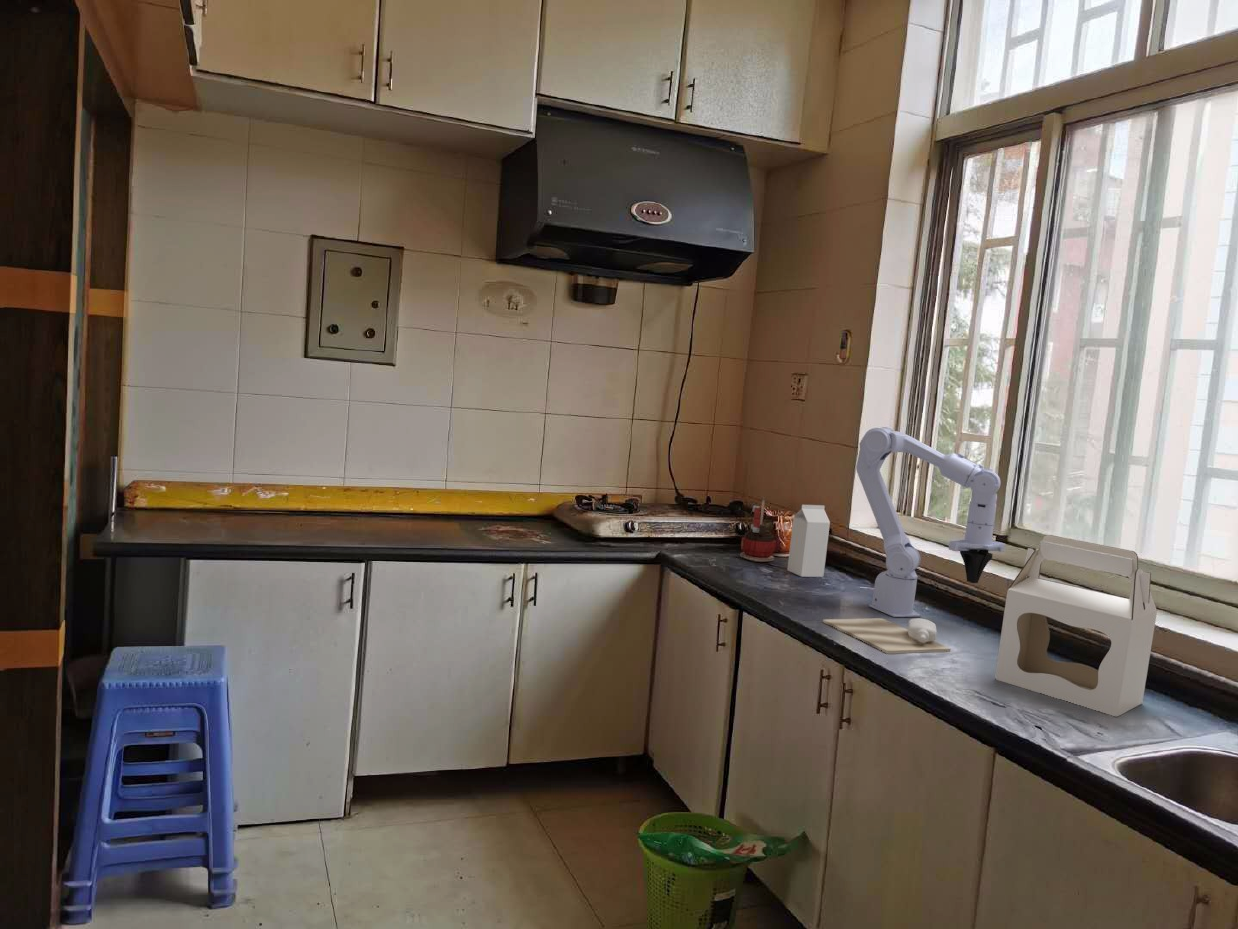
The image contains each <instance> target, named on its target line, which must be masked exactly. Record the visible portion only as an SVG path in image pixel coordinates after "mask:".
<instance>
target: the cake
mask: <svg viewBox="0 0 1238 929" xmlns="http://www.w3.org/2000/svg"><path fill="white" fill-rule="evenodd" d="M765 502H766V497H762V499H761V508H760V506H758V505H753V506H752V512H753V520H752V523H751V524H750V529H749V530H747V532H745V533H744V535H743V536H742V537H741V541H740V548H741V550H742V552H740V554H739V555H740V557H741V558H743V559H746V560H748V561H751V562H757V563H765V562H766V563H767V562H772V561H774V560H775V557H774V556H773V552H775V551H776V546H777V541H776V540H775V536H774V534H772V532H771V531H770V530H769V529H766V525H765V524H763V519H764V511H765V505H766V504H765Z"/></svg>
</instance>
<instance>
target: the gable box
mask: <svg viewBox="0 0 1238 929" xmlns="http://www.w3.org/2000/svg"><path fill="white" fill-rule="evenodd" d="M1039 544H1040V547H1037V548H1036V549H1034V548H1032V547H1027V552H1026V556H1025V560H1024V565H1023V567H1022V568H1021V569H1020V571H1019V572H1018V574H1017V575H1016V577H1015V578H1014V580H1013V581H1012V582H1011V584H1010V585H1009V587H1008V588H1007V589H1006V590H1007V591H1006V596H1005V597H1006V598H1005V605H1004V612H1003V619H1002V624H1001V625H1002V626H1001V633H1000V637H999V638H1000V640H999V647H998V654H997V660H996V665H995V666H996V667H995V674H994V678H995V680H996V681H999V682H1002V683H1005V684H1008V685H1011V686H1014V687H1019V688H1021V689H1024V690H1028V691H1031V692H1034V693H1038V694H1040V693H1042V694H1041V695H1043V694H1045V696H1046V695H1048V696H1047V697H1050V696H1051V697H1050V698H1053V697H1054V698H1053V699H1056V698H1057V700H1059V699H1062V700H1061V701H1063V700H1065V701H1064V702H1066V701H1068V702H1067V703H1069V702H1071V703H1070V704H1072V703H1074V704H1073V705H1075V704H1077V705H1076V706H1079V705H1081V706H1080V707H1082V706H1084V707H1083V708H1085V707H1087V708H1086V709H1088V708H1090V709H1089V710H1091V709H1093V710H1092V711H1095V710H1096V712H1098V711H1100V712H1099V713H1101V712H1103V713H1102V714H1104V713H1106V714H1105V715H1108V714H1109V715H1108V716H1111V715H1112V717H1114V716H1115V717H1114V718H1118V717H1120V716H1121V715H1123V714H1125V713H1126V712H1128V711H1130V710H1132V709H1134V708H1136V707H1138V706H1139V705H1142V704H1143V702H1144V701H1143V700H1144V696H1145V695H1144V694H1145V688H1146V682H1147V676H1148V670H1149V663H1150V658H1151V650H1152V645H1153V639H1154V633H1155V626H1156V621H1157V620H1156V619H1157V615H1158V610H1157V607H1156V604H1155V601H1154V598H1153V596H1152V592H1151V579H1152V578H1151V577H1152V573H1151V572H1147V571H1143V569H1142V568H1139V555H1138V554H1137V552H1135V551H1133V550H1130V549H1124V548H1118V547H1113V546H1108V545H1104V544H1098V543H1094V542H1088V541H1083V540H1078V539H1073V538H1068V537H1062V536H1058V535H1057V536H1056V535H1054V534H1047V535H1045V536H1043V538H1042V540H1040V542H1039ZM1045 560H1046V561H1049V562H1051V561H1052V562H1056V563H1057V562H1058V563H1061V564H1062V563H1063V564H1067V565H1071V566H1077V567H1081V568H1086V569H1089V570H1090V569H1091V570H1095V571H1099V572H1100V571H1101V572H1106V573H1110V574H1114V575H1117V576H1119V575H1120V576H1121V577H1122V578H1124V577H1126V578H1129V580H1130V592H1129V597H1125V596H1124V597H1123V596H1119V595H1115V594H1111V593H1107V592H1102V591H1098V590H1094V589H1089V588H1085V587H1081V586H1075V585H1071V584H1066V583H1062V582H1058V581H1054V580H1049V579H1045V578H1041V577H1040V576H1041V568H1042V563H1043V562H1044V561H1045ZM1047 617H1048V618H1050V619H1053V620H1055V621H1057V622H1060V623H1062V624H1066V625H1068V626H1070V627H1073V628H1074V627H1075V628H1083V629H1090V630H1093V631H1096V632H1097V631H1098V632H1101V633H1102V634H1105V635H1106V636H1107V637H1108V638H1109V639H1110V642H1111V643H1110V648H1109V650H1108V651H1107V653H1106V655H1105V656H1104V657H1103V659H1102V661H1101V663H1100V665H1099V667H1098V669H1096V668H1094V667H1092V666H1089V665H1086V664H1083V663H1077V662H1063V661H1057V660H1055V659H1052V658H1050V657H1049V655H1048V647H1049V643H1050V639H1051V634H1050V627H1049V623H1048V619H1047Z"/></svg>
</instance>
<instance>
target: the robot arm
mask: <svg viewBox="0 0 1238 929" xmlns="http://www.w3.org/2000/svg"><path fill="white" fill-rule="evenodd" d="M858 443H859V451H858V456H857V461H856V474H857V476H858V479H859V480H860V484H861V487H862V489H863V491H864V494H865V497H866V499H867V500H868V503H869V506H870V510H871V511H872V514H873V516H874V519H875V522H876V523H877V527H878V529H879V532H880V534H881V537H882V539H883V540H882V541H883V550H884V552H885V557H886V558H885V566H886V570H884V571H882V572H880V573H879V574H878V575H877V576H876V578H875V580H874V587H873V595H872V601H871V604H868V606H869V607H870V608H872V609H875V610H877V611H879V612H882V613H884V614H887V615H888V616H890V617H892V618H893V617H894V618H908V617H909V618H910V617H911V618H914V617H916V618H917V617H919V618H920V617H921V616H922V615H921V613H918V612H916V611H914V606H915V596H916V592H917V582H918V575H917V573H916V569H917V568H918V567H919V566H920V564H921V554H920V552H919V551H918V549H917V548H915V547H914V545H913V544H912V543H911V540H910V538H909V537H908V535H907V534H906V532H905V531H904V529H903V526H902V524H901V521H900V519H899V517H898V516H899V515H898V513H897V510H896V508H895V505H894V503H893V500H892V498H891V496H890V493H889V490H888V489H887V485H886V483H885V480H884V478H883V475H882V472H881V468H882V466H883V464H884V463H885V460H886V458H888V457H889V455H890V454H891V453H907V454H910V455H912V456H913V457H916V458H918V459H920V460H922V461H924V462H927V463H929V464H931V465H933V466H935V467H937V468H938V469H939V472H940V473H939V474H940V475H941V476H942V477H944V478H946V479H948V480H950V481H953V482H954V483H956V484H959V485H960V486H962V487H964V488H966V489H967V488H970V489H971V498H970V501H969V506H968V512H967V518H966V519H967V521H966V526H965V534H964V539H962V540H961V539H960V540H949V542H948V543H949V544H948V550H949V551H953V552H959V551H960V552H959V554H960V556H961V558H962V562H963V564H964V569H965V575H966V581H967V582H968V583H971V584H978V583H979V581H980V578H981V575H982V573H983V572H984V570H985V567H986V566H987V565H988V563H989V562H990V561H991V560H992V558H993V553H991V552H1001V553H1004V552H1005V548H1006V543H1003V542H1000V541H993V540H992V539H993V534H994V528H995V519H996V512H997V501H998V493H997V492H998V491H999V490H1000V487H1001V482H1002V481H1001V478H1000V476H999V475H998V474H997V473H996V472H995V471H994V470H992V469H990V468H985V465H983V464H982V463H979V464H977V463H975V462H973V461H971V460H969V459H967V458H965V456H966V455H965V454H963V453H961V452H959V453H958V454H956V453H955V452H952V453H949V454H944V453H942V452H940V451H938V450H937V449H935V448H934V447H932V446H929V445H927V444H925V443H924V442H922V441H920V440H918V439H916V438H915V437H913V436H910V435H909V434H906V433H903V432H901V431H898V430H894V429H892V428H890V427H887V426H881V427H874V428H870V429H868V430H867V431H866V432H865V434H864V435H863V437H862V438H861V440H860V442H858ZM984 468H985V469H984Z"/></svg>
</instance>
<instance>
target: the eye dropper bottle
mask: <svg viewBox="0 0 1238 929" xmlns="http://www.w3.org/2000/svg"><path fill="white" fill-rule="evenodd" d="M907 629H908V635H909V636H910V637H911V638H913V639H915V640H917V641H919V642H921V643H925V642H932V641H936V639H937V635H938V633H937V631H938V630H937V624H935V623H934V622H933V621H931V620H929V619H927V618H920V617H919V618H917V617H916V618H911V619H909V620H908V625H907Z"/></svg>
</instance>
